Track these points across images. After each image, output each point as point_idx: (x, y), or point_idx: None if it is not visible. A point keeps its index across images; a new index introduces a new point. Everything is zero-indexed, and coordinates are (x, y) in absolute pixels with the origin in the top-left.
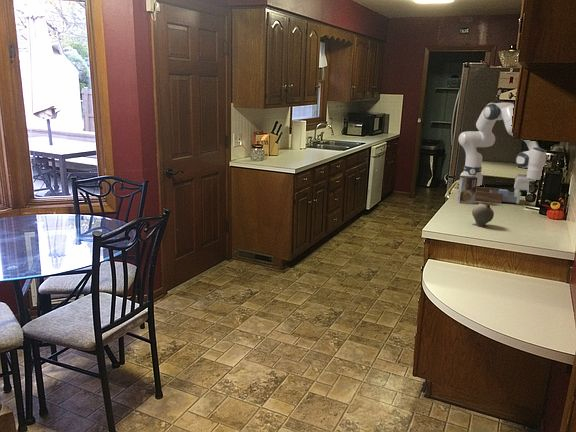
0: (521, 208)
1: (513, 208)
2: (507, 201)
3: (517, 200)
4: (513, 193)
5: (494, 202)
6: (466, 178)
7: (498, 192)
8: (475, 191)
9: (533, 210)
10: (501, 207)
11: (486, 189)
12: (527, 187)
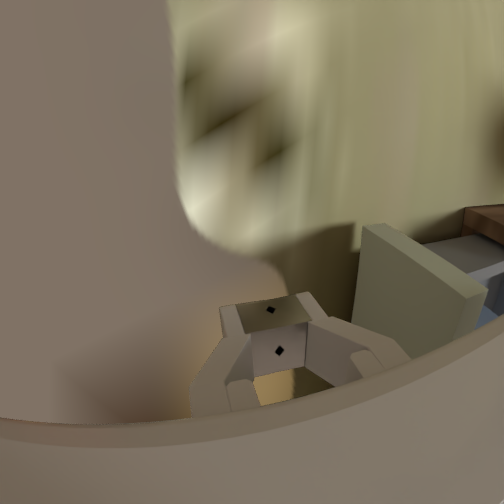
0: (336, 63)
1: (405, 35)
2: (445, 242)
3: (402, 236)
4: None
5: (495, 205)
6: None
7: None
8: None
9: (199, 18)
10: (473, 51)
11: None
12: (492, 390)
